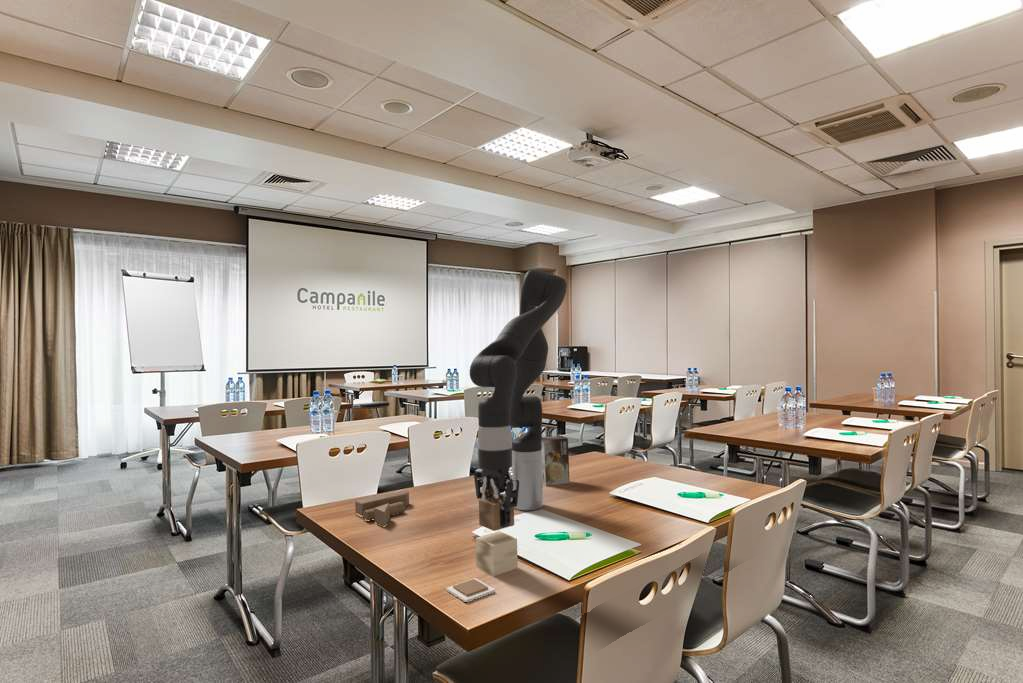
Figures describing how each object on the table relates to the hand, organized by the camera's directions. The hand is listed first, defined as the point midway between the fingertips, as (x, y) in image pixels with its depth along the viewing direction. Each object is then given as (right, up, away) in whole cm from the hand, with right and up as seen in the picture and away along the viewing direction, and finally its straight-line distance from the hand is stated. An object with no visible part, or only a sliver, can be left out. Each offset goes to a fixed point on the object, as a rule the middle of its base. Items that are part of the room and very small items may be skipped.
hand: (496, 522), depth 118 cm
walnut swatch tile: (-5, -10, -12) cm, 16 cm away
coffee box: (+19, -10, +72) cm, 75 cm away
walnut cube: (0, -1, 0) cm, 1 cm away
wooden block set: (-31, -12, +39) cm, 52 cm away
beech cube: (0, -10, 0) cm, 10 cm away
